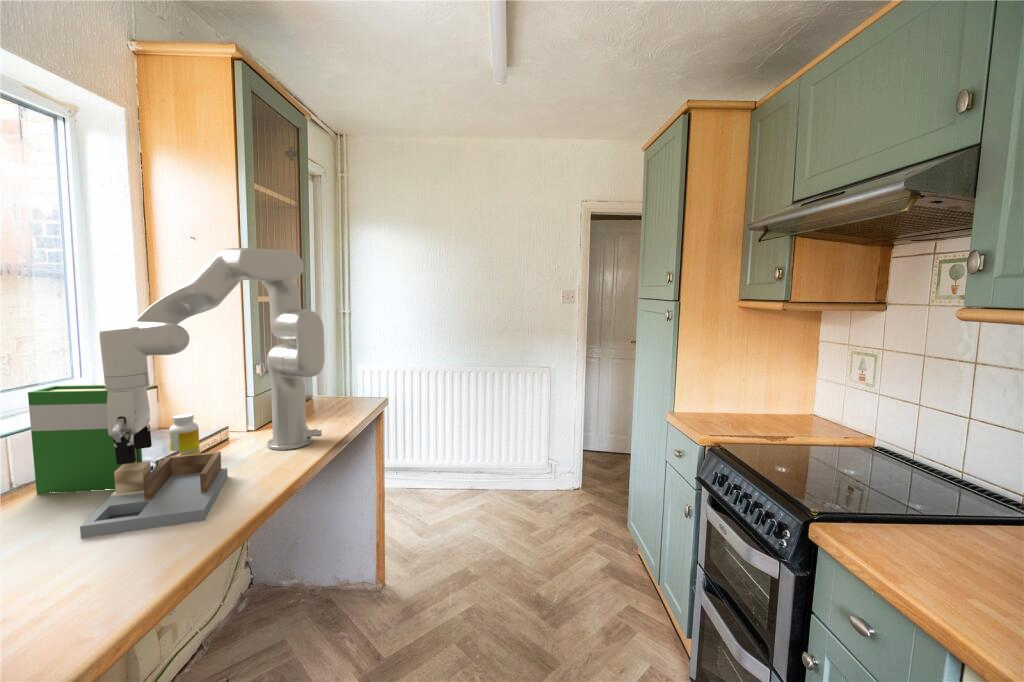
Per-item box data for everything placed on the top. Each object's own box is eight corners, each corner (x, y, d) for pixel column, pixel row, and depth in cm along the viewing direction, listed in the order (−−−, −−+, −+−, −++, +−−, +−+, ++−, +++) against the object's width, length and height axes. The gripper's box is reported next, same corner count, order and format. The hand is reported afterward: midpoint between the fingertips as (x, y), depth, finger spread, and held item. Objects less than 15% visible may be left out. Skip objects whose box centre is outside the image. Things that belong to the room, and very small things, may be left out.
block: (151, 481, 105) (150, 461, 105) (143, 490, 100) (142, 468, 100) (124, 484, 103) (123, 463, 103) (115, 493, 98) (114, 471, 98)
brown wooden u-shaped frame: (221, 468, 115) (220, 451, 114) (207, 492, 101) (206, 473, 101) (167, 474, 110) (166, 456, 110) (144, 500, 97) (143, 480, 96)
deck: (227, 476, 116) (227, 466, 115) (204, 520, 93) (204, 507, 93) (130, 488, 108) (129, 476, 108) (80, 538, 86) (79, 524, 86)
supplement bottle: (205, 456, 129) (203, 413, 128) (187, 465, 123) (184, 419, 121) (184, 455, 130) (182, 412, 128) (164, 463, 123) (162, 418, 122)
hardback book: (143, 477, 114) (137, 384, 112) (124, 489, 107) (117, 390, 105) (61, 481, 111) (53, 385, 108) (36, 494, 104) (27, 392, 101)
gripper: (122, 375, 106) (129, 444, 108) (86, 391, 90) (96, 472, 92) (161, 372, 109) (167, 440, 111) (133, 388, 93) (141, 467, 95)
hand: (135, 455), depth 102 cm, fingers open, 9 cm apart
